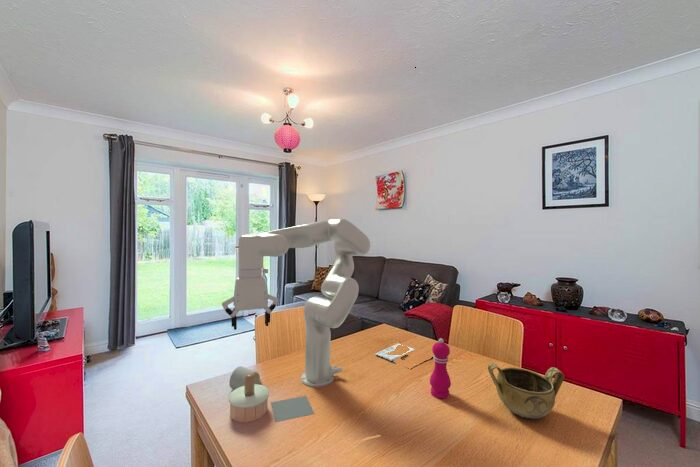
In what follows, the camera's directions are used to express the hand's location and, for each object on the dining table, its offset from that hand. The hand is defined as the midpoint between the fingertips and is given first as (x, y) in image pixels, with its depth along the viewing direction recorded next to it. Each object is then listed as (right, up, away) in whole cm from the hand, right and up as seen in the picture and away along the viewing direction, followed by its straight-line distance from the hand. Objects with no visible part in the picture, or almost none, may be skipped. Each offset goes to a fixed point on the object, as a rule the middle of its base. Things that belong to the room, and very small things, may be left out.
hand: (251, 326), depth 99 cm
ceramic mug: (-5, -26, +13) cm, 30 cm away
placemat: (+13, -27, 0) cm, 30 cm away
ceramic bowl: (+88, -28, +1) cm, 92 cm away
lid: (0, -22, -2) cm, 23 cm away
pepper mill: (+64, -28, +11) cm, 70 cm away
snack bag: (+57, -28, +42) cm, 76 cm away
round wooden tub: (0, -26, -2) cm, 27 cm away
